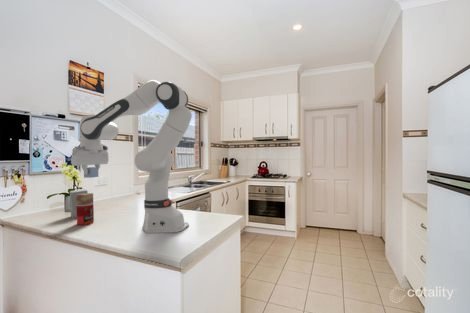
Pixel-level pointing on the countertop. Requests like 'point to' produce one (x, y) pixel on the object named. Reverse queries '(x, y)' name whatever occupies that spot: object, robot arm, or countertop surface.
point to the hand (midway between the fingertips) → (91, 173)
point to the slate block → (92, 172)
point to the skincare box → (74, 201)
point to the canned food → (85, 214)
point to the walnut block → (84, 198)
